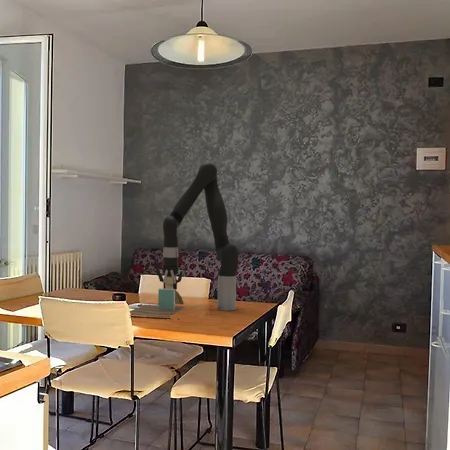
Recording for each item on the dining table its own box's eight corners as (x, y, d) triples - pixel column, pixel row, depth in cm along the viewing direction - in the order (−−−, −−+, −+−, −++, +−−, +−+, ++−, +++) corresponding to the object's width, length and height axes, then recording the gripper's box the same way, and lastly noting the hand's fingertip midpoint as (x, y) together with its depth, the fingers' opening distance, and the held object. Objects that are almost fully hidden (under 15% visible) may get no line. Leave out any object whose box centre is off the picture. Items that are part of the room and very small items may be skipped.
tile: (159, 308, 263) (159, 288, 262) (174, 309, 261) (175, 289, 261) (157, 309, 261) (158, 288, 260) (173, 310, 259) (173, 289, 259)
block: (167, 293, 269) (167, 275, 268) (175, 294, 268) (175, 276, 268) (165, 294, 265) (165, 276, 265) (172, 295, 264) (173, 277, 264)
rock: (189, 301, 280) (176, 296, 287) (183, 289, 276) (170, 284, 282) (176, 315, 275) (163, 310, 281) (170, 303, 270) (157, 298, 277)
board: (144, 306, 274) (144, 304, 274) (185, 309, 269) (185, 306, 269) (123, 316, 246) (123, 314, 246) (168, 319, 242) (168, 316, 242)
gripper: (186, 256, 268) (185, 290, 268) (159, 255, 271) (159, 288, 271) (182, 257, 261) (181, 292, 261) (154, 256, 264) (154, 290, 264)
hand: (170, 290), depth 266 cm, fingers closed on block, 4 cm apart
